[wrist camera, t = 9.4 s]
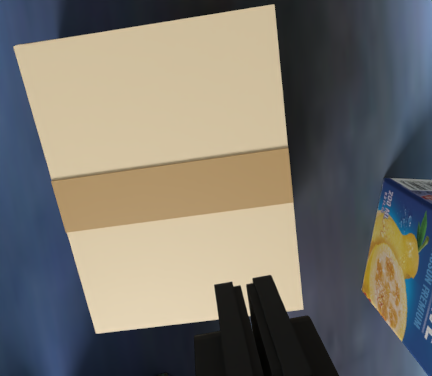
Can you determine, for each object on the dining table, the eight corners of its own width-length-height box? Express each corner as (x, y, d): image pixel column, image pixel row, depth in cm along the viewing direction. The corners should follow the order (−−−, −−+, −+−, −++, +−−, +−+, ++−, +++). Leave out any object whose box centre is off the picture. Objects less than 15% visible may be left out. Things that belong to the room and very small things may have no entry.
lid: (272, 5, 21) (274, 4, 20) (301, 303, 27) (303, 310, 26) (19, 46, 22) (12, 46, 21) (99, 326, 27) (95, 335, 27)
